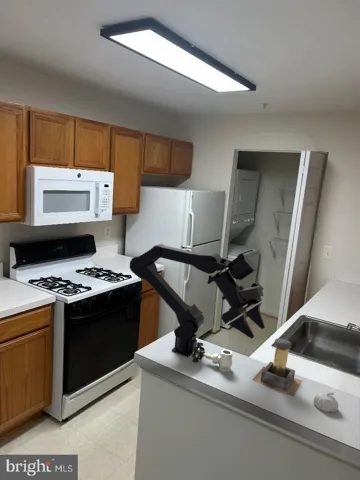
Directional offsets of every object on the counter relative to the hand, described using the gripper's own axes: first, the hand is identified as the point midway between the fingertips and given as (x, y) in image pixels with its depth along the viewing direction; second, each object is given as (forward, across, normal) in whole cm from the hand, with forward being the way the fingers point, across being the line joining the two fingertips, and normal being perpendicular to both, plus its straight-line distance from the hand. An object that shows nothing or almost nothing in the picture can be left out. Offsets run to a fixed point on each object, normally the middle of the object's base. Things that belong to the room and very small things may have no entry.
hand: (258, 332), depth 104 cm
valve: (+2, -5, +18) cm, 18 cm away
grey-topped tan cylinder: (+14, 0, +3) cm, 14 cm away
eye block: (+15, 0, +4) cm, 15 cm away
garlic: (+25, -4, -6) cm, 26 cm away
